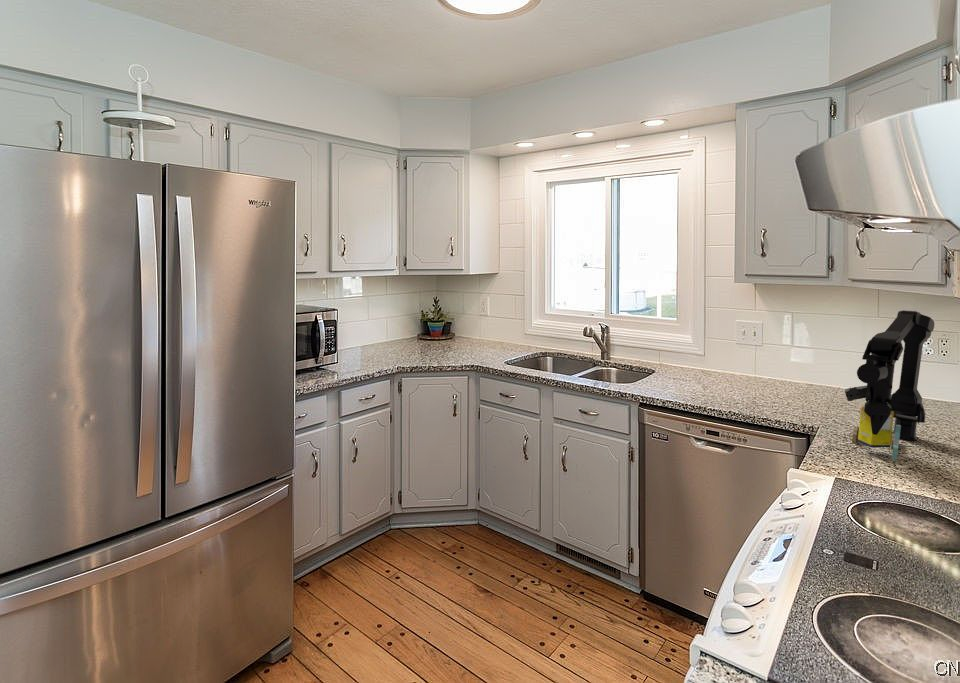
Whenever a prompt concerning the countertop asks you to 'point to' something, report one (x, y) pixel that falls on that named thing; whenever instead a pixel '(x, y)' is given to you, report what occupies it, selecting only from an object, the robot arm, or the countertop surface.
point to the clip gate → (896, 442)
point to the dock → (856, 432)
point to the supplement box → (870, 439)
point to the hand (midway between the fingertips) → (874, 431)
